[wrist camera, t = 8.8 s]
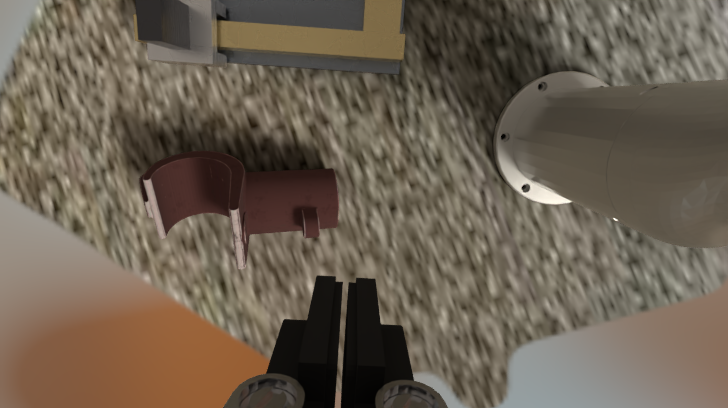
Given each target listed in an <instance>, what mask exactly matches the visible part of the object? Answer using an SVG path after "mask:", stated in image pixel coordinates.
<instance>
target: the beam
mask: <svg viewBox="0 0 728 408" xmlns="http://www.w3.org/2000/svg"><path fill="white" fill-rule="evenodd" d="M401 9H402V0H365V1H364V18H363V31H355V30H342V29H328V28H315V27H301V26H288V25H274V24H260V23H247V22H233V21H220V20H217V50H230V51H244V52H258V53H273V54H287V55H301V56H315V57H329V58H343V59H358V60H372V61H386V62H401V61H402V60H403V58H404V46H405V34H400V21H401ZM133 17H134V32H135V41H138V42H142V43H145V44H147V42H144V41H140V40H138V31H137V17H136V14H133Z"/></svg>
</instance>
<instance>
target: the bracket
mask: <svg viewBox="0 0 728 408" xmlns="http://www.w3.org/2000/svg"><path fill="white" fill-rule="evenodd" d="M139 181H140V186H141V192H142V197H143V201H144V205H145V208H146V212H147V215H148V217H152V218H154V221H155V225H156V228H157V232H158V235H159V238H160V239H163V238H165V237H166V236H167V233H168V231H169V230H170V228H171V227H172V226H173V225H175V224H176V223H177V222H179V221H180V220H182V219H184V218H187V217H189V216H192V215H196V214H202V213H217V214H222V215H225V216H227V217H229V218H230V222H231V229H232V236H233V243H234V250H235V258H236V265H237V268H238V269H244V268H245V267H246V261H247V252H248V244H249V236H250V234H261V233H274V232H287V231H300V230H303V236H304V238H312V237H319V233H320V229H326V228H336V227H337V225H338V219H339V197H338V187H337V180H336V175H335V172H334V170H333V169H332V168H331V169H308V170H285V171H262V172H245V170H244V167H243V165H242V163H241V162H240V161H239V160H238V159H236V158H234V157H232V156H230V155H228V154H224V153H220V152H214V151H192V152H185V153H180V154H176V155H172V156H169V157H167V158H164V159H162V160H160V161H158V162H157V163H155V164H154V165H152V166H151V167H150V168H149V169H148V170H147V171H146V172H145V174H143V175H142V176H141V177H140V178H139Z"/></svg>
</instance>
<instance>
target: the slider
mask: <svg viewBox="0 0 728 408" xmlns="http://www.w3.org/2000/svg"><path fill="white" fill-rule="evenodd" d="M135 2H136V17H137V31H138V40H140V41H144V42H147V50H148V60H153V61H158V62H163V63H167V64H179V65H194V66H208V67H223V68H227V56H226V55H223V54H220V53H218V52H217V18H224V19H226V6H225V5H224V4H222V3H221V2H220V1H218V0H135Z"/></svg>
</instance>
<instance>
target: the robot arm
mask: <svg viewBox="0 0 728 408" xmlns="http://www.w3.org/2000/svg"><path fill="white" fill-rule="evenodd" d="M539 84H540V86H541V88H540V89H538V85H539ZM502 134H504V138H503V139H501V135H502ZM493 152H494V157H495V162H496V165H497V167H498V170H499V172H500V174H501V176H502V177H503V179H504V180H505V182H506V183H507V184H508V185H509V186H510V187H511V188H512V189H513V190H514V191H515V192H517V193H518V194H520V195H521V196H523V197H525V198H527V199H529V200H531V201H534V202H538V203H542V204H550V205H559V204H566V203H571V202H575V203H577V204H579V205H581V206H583V207H585V208H588V209H590V210H592V211H594V212H596V213H599V214H601V215H603V216H605V217H607V218H610V219H612V220H614V221H616V222H618V223H620V224H623V225H625V226H627V227H629V228H632V229H634V230H636V231H639V232H641V233H643V234H645V235H648V236H650V237H652V238H654V239H657V240H659V241H662V242H665V243H668V244H671V245H676V246H681V247H687V248H718V247H724V246H728V79H725V80H709V81H694V82H683V83H666V84H648V85H630V86H612V87H610V86H609V85H608V84H606V83H605V82H603V81H602V80H600V79H599V78H597V77H594V76H592V75H590V74H587V73H582V72H576V71H566V72H556V73H551V74H548V75H545V76H542V77H539V78H537V79H535V80H533V81H531V82H529V83H528V84H526V85H525V86H524V87H522V88H521V89H520V90H519V91H518V92H516V93H515V95H514V96H513V97H512V98H511V99H510V100H509V101H508V103H507V104H506V106H505V108H504V109H503V111H502V113H501V114H500V117H499V119H498V122H497V125H496V128H495V133H494V139H493ZM523 185H524V188H523V189H521V188H522V186H523ZM335 281H336V277H334V276H317V277H316V281H315V286H314V291H313V295H312V300H311V305H310V309H309V314H308V319H307V320H290V319H284V321H283V323H282V326H281V329H280V332H279V335H278V338H277V341H276V345H275V348H274V351H273V354H272V357H271V360H270V363H269V366H268V369H267V372H266V374H263V375H258V376H255V377H252V378H250V379H248V380H246V381H245V382H243V383H242V384H240V385H239V386H238V387H237V388H236V389H235V391H234V392H233V393H232V395H231V396H230V398H229V399H228V401H227V403H226V404H225V406H224V407H223V408H334V407H335V393H336V378H337V363H338V348H339V332H340V316H341V301H342V285H343V282H335ZM341 408H448V407H447V405H446V403H445V401H444V400H443V398H442V397H441V396H440V394H439V393H437V392H436V391H435V390H434V389H433V388H431V387H429V386H427V385H425V384H423V383H420V382H416V381H414V378H413V373H412V369H411V364H410V359H409V355H408V350H407V345H406V341H405V336H404V331H403V327H402V326H401V325H382V324H381V323H380V315H379V306H378V298H377V289H376V281H375V279H368V278H356V283H350V282H349V286H348V300H347V314H346V328H345V342H344V357H343V372H342V393H341Z"/></svg>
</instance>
